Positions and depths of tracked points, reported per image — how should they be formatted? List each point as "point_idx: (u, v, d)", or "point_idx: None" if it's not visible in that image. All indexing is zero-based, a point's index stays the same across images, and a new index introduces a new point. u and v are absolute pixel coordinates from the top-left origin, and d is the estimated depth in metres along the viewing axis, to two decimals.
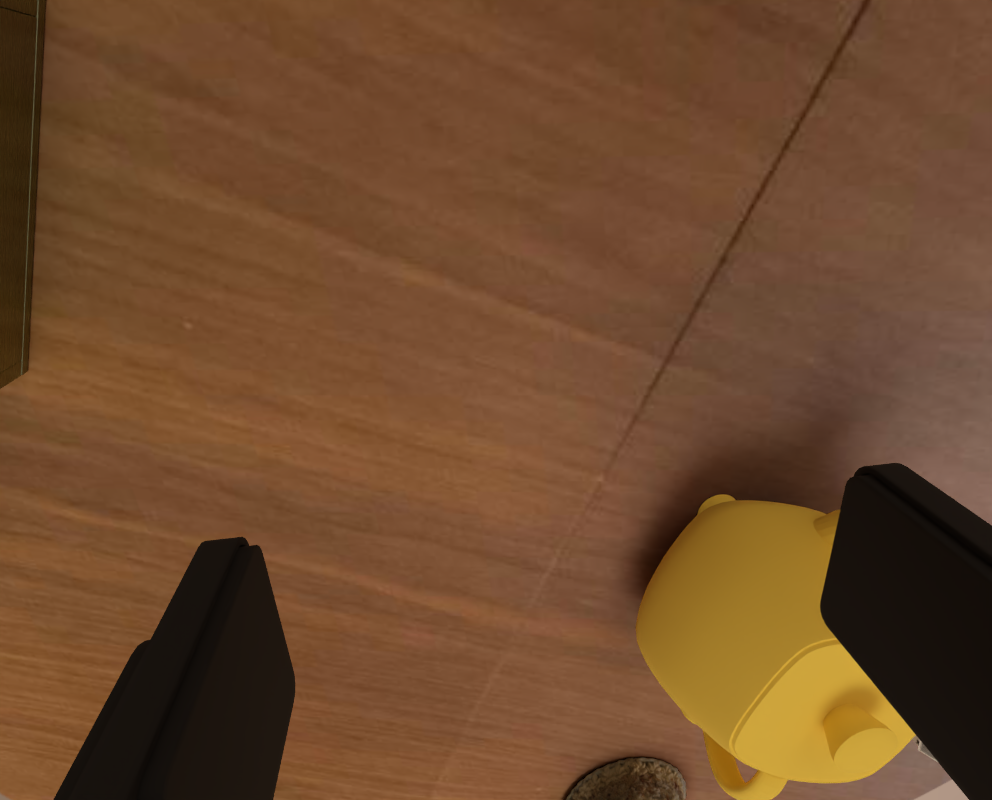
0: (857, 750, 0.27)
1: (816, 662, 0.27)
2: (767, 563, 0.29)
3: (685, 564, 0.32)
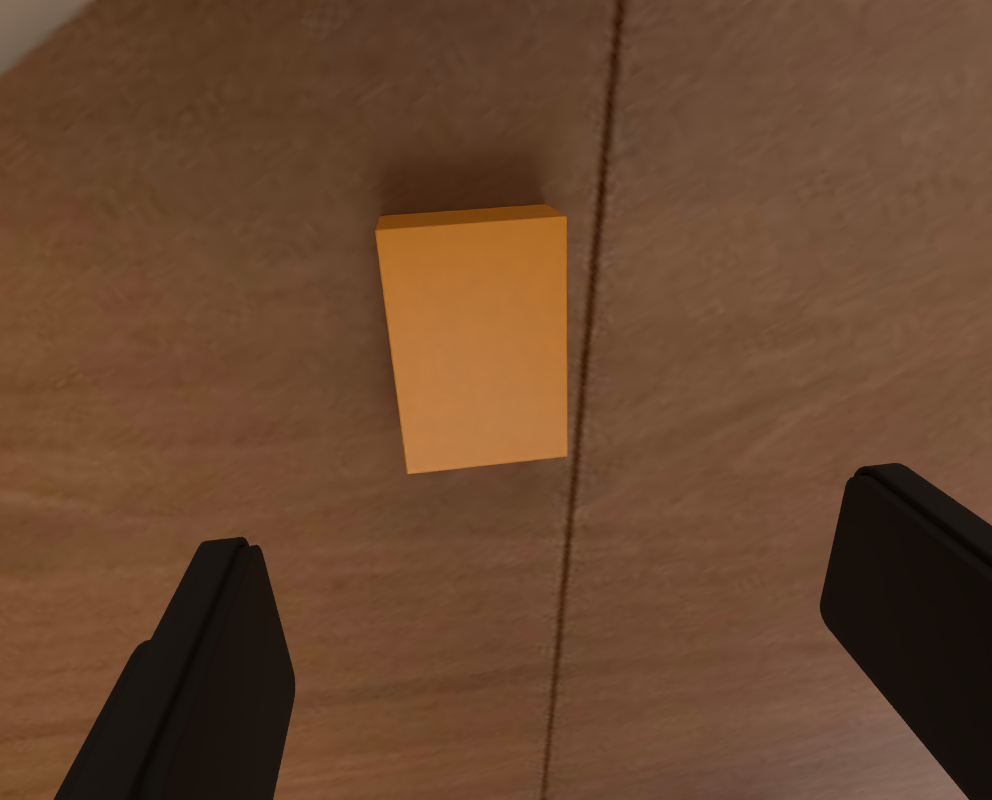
0: None
1: None
2: None
3: None
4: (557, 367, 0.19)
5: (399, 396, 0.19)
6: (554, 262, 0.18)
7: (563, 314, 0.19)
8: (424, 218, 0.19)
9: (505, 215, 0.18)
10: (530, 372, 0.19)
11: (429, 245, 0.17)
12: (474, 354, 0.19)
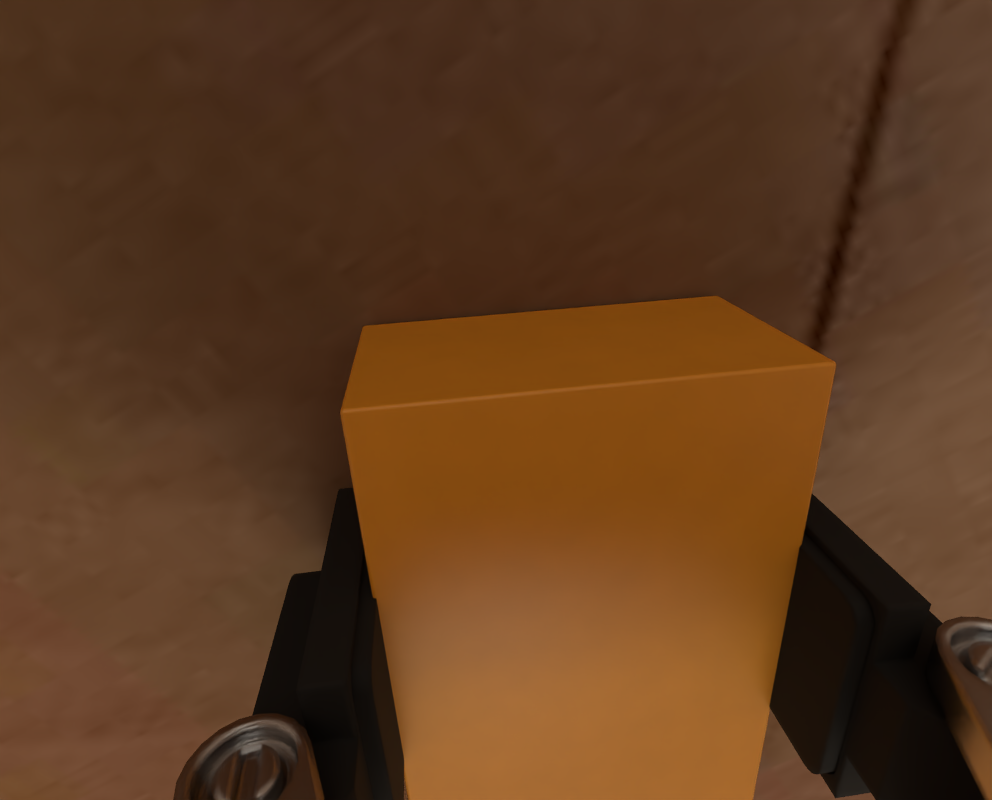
0: None
1: None
2: None
3: None
4: (757, 669, 0.09)
5: (404, 742, 0.08)
6: (788, 467, 0.07)
7: (789, 571, 0.08)
8: (465, 347, 0.08)
9: (663, 346, 0.08)
10: (698, 682, 0.09)
11: (484, 442, 0.07)
12: (576, 659, 0.08)
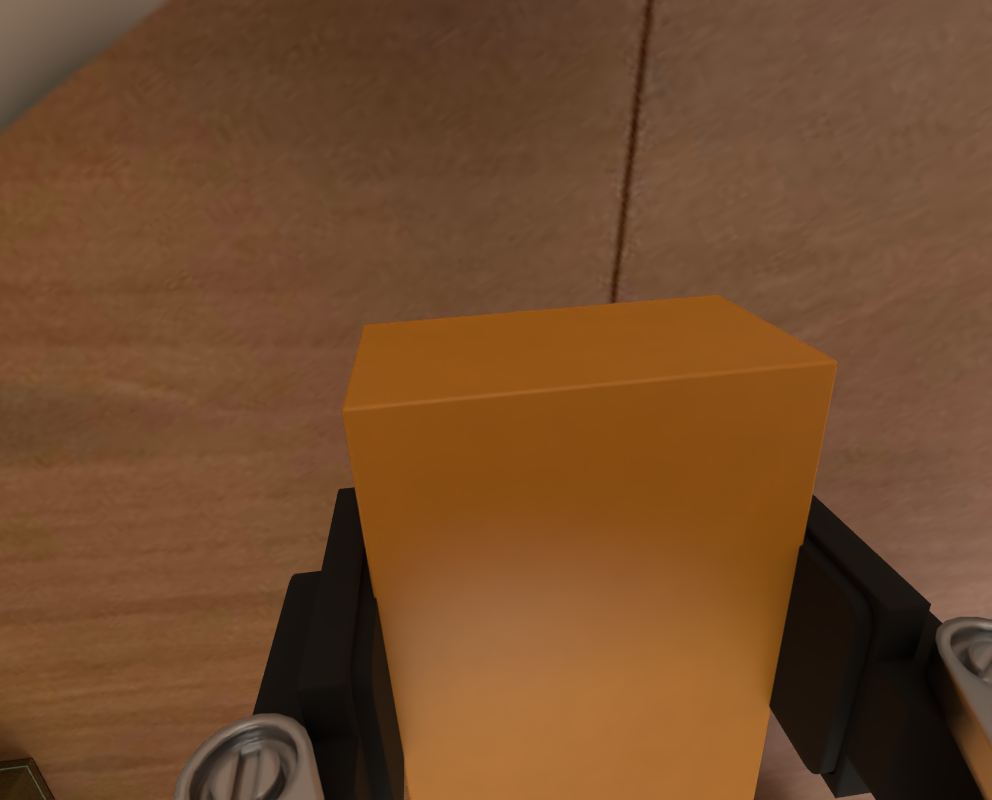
0: None
1: None
2: None
3: None
4: (758, 668, 0.09)
5: (405, 741, 0.08)
6: (789, 465, 0.07)
7: (790, 570, 0.08)
8: (466, 346, 0.08)
9: (664, 345, 0.08)
10: (698, 681, 0.09)
11: (485, 441, 0.07)
12: (577, 658, 0.08)
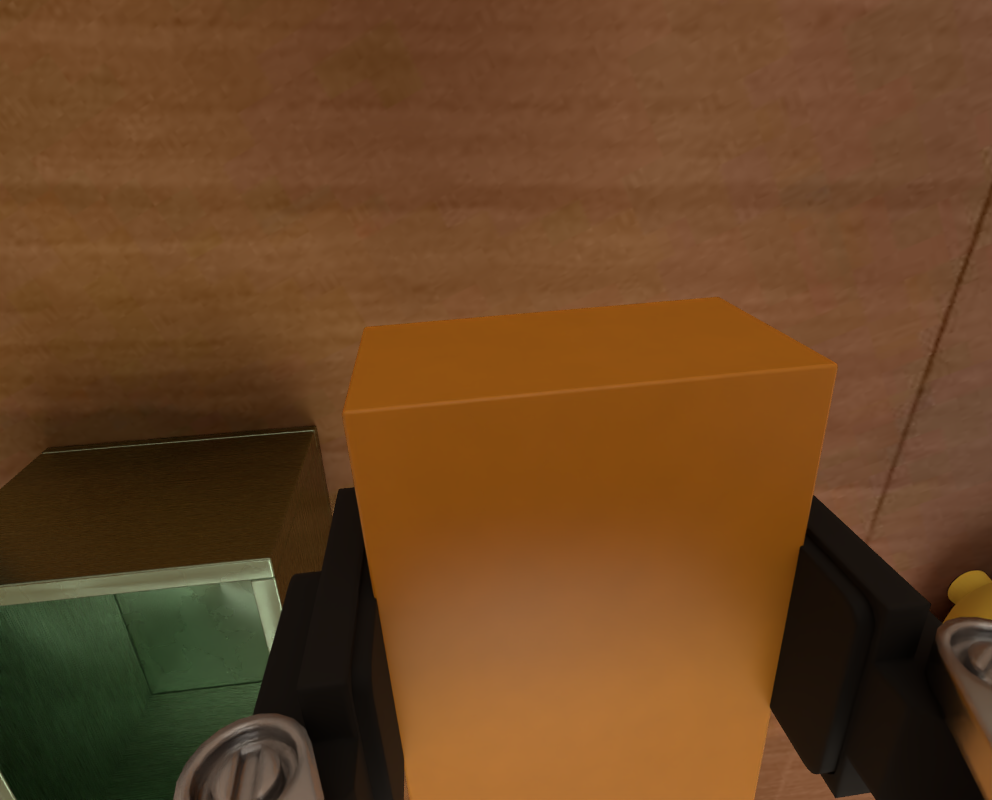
0: None
1: None
2: None
3: None
4: (758, 670, 0.09)
5: (405, 743, 0.08)
6: (790, 468, 0.07)
7: (790, 572, 0.08)
8: (466, 349, 0.08)
9: (664, 348, 0.08)
10: (699, 684, 0.09)
11: (485, 443, 0.07)
12: (577, 660, 0.08)
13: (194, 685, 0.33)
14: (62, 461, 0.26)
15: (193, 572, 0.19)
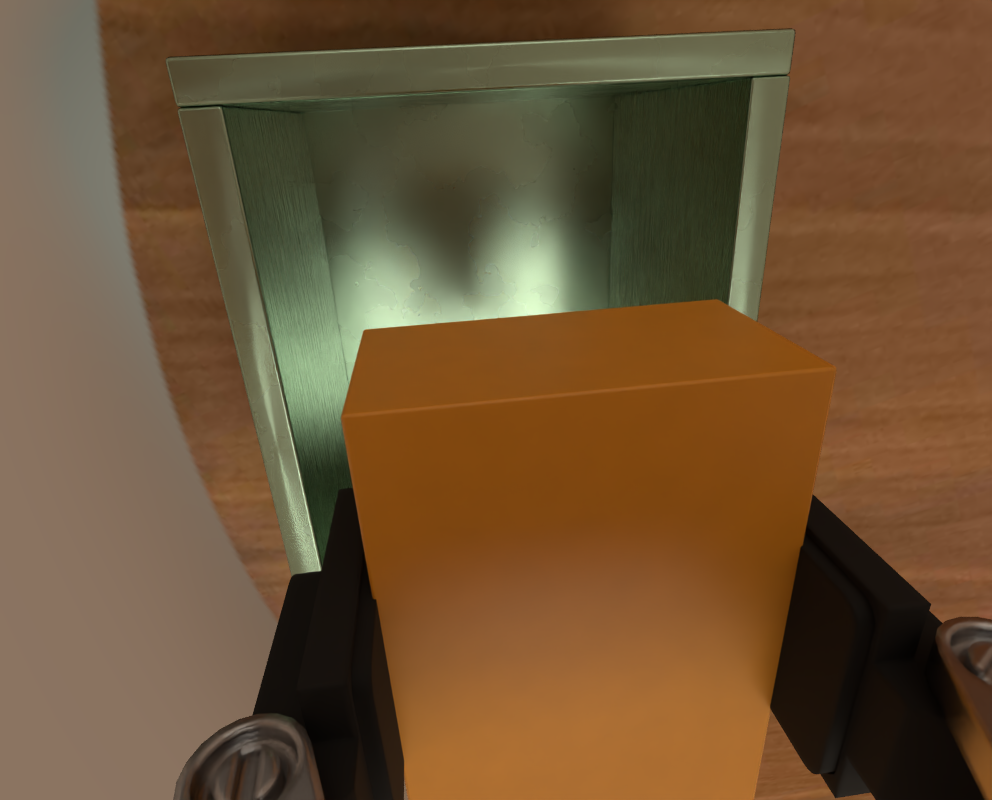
0: None
1: None
2: None
3: None
4: (758, 673, 0.09)
5: (404, 745, 0.08)
6: (788, 471, 0.07)
7: (789, 575, 0.08)
8: (465, 351, 0.08)
9: (663, 350, 0.08)
10: (698, 685, 0.09)
11: (485, 446, 0.07)
12: (577, 662, 0.08)
13: None
14: None
15: (675, 46, 0.11)
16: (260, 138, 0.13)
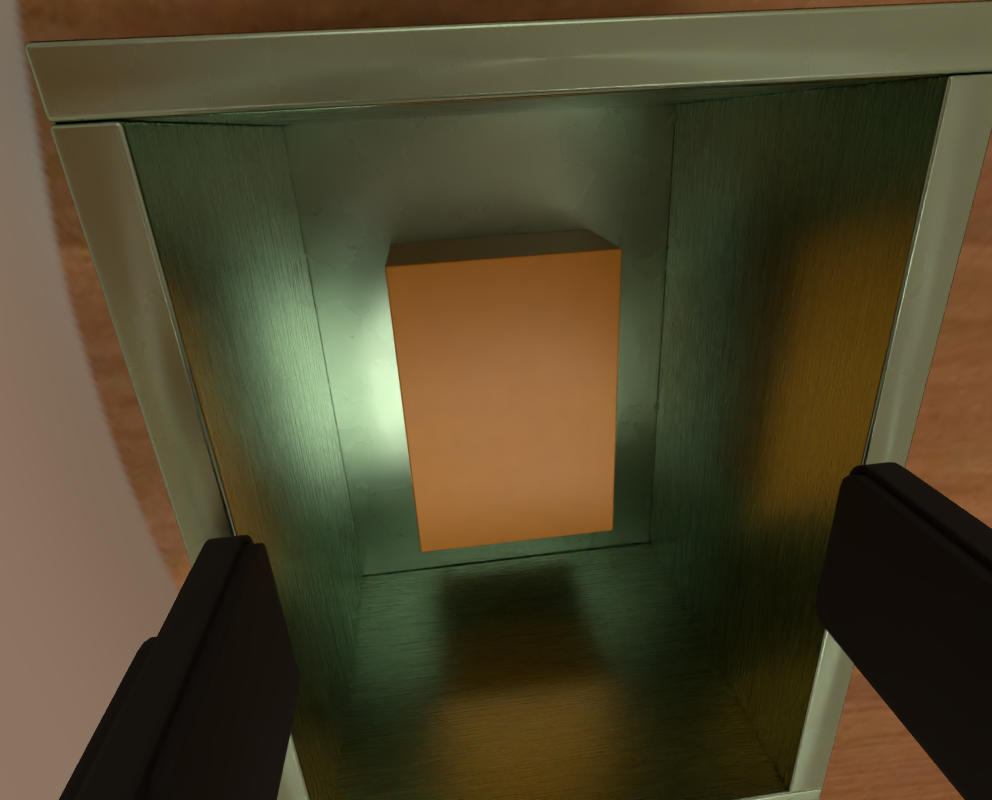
0: None
1: None
2: None
3: None
4: (604, 428, 0.16)
5: (412, 463, 0.16)
6: (604, 304, 0.15)
7: (613, 366, 0.15)
8: (445, 248, 0.15)
9: (544, 245, 0.15)
10: (571, 434, 0.16)
11: (452, 285, 0.14)
12: (503, 414, 0.16)
13: (429, 561, 0.21)
14: None
15: (838, 27, 0.07)
16: (205, 165, 0.09)
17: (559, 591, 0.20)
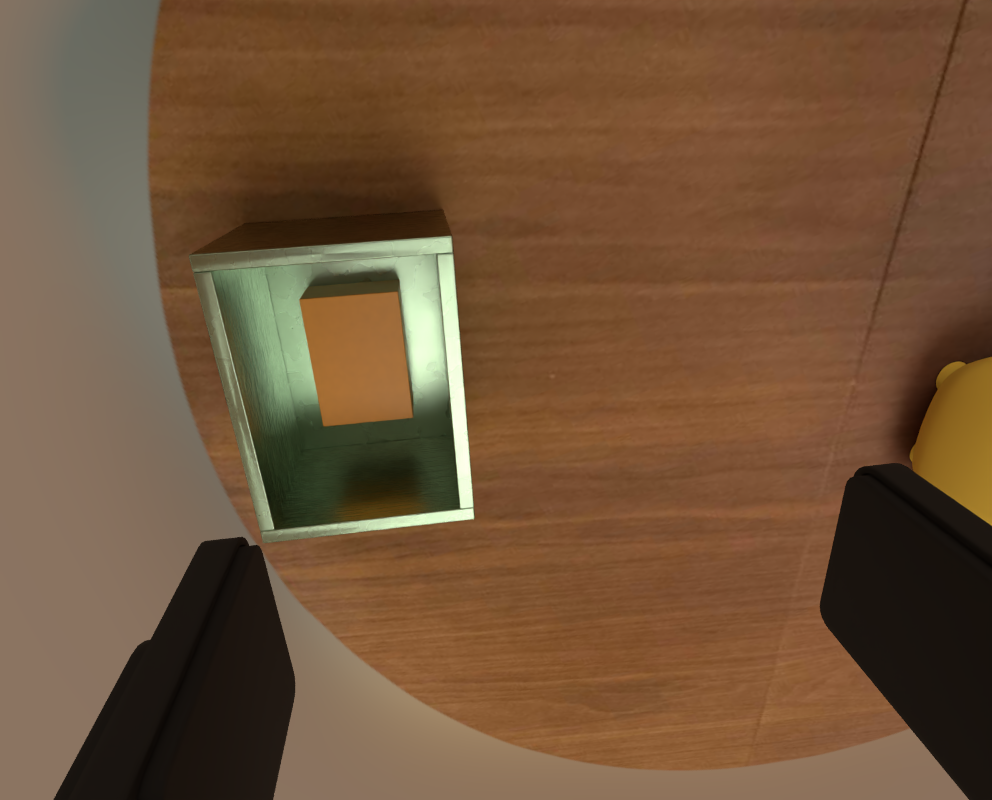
0: None
1: None
2: None
3: (949, 422, 0.42)
4: (401, 368, 0.36)
5: (316, 383, 0.36)
6: (393, 314, 0.35)
7: (402, 340, 0.36)
8: (328, 290, 0.35)
9: (369, 289, 0.35)
10: (387, 371, 0.36)
11: (327, 306, 0.34)
12: (355, 361, 0.36)
13: (336, 442, 0.41)
14: (262, 225, 0.34)
15: (399, 244, 0.28)
16: (229, 272, 0.30)
17: (397, 453, 0.40)
